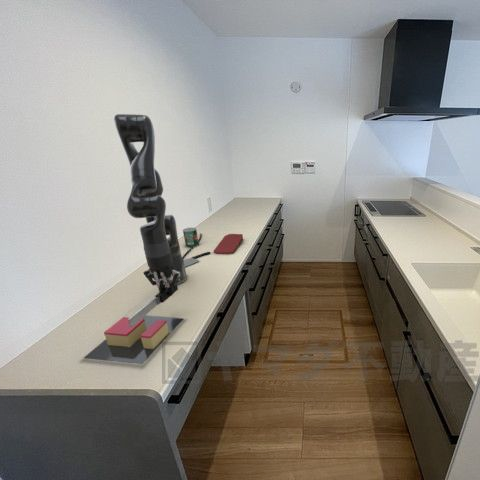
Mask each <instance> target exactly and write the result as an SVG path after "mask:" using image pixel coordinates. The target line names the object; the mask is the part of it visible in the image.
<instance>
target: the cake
mask: <svg viewBox="0 0 480 480" xmlns="http://www.w3.org/2000/svg"><path fill="white" fill-rule="evenodd" d="M129 318H130V317H126V316H123V317H122V318H120V319H118V321H116V322H115V323H114V324H112V326H110V327H109V328H108V329H107V330H105V331H104V332H103V334H104V337H105V340H107V343H108V345H114V346H125V347H131V346H132V345H133V344H134V343H135V342H136V341H137V340H138V339H139V338H140V337H141V335H142V334H143V333H144V332H145V331H146V330H147V327H146V324H145V320H144V319H141V320H140V321H138V322H137V323H136V324H135V325H134V326H133V327H132V328H130V325H129V322H128V319H129Z"/></svg>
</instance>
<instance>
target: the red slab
mask: <svg viewBox="0 0 480 480" xmlns="http://www.w3.org/2000/svg"><path fill="white" fill-rule="evenodd" d="M243 235H244V234H243V233H228V234H226V235H224V236H223V237H222V239H221V240H220V242H219V243H218V244H217V246H216V247H215V248H214V249H213V253H214V254H217V255H232V254H235V251H236V250H237V249H238V247H239V245H240V244H241V242H242V241H243V240H244V236H243Z"/></svg>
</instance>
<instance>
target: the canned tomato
mask: <svg viewBox="0 0 480 480" xmlns="http://www.w3.org/2000/svg"><path fill="white" fill-rule="evenodd" d="M182 234H183V238H184V245H185V248H189V249H190V248H191V247H192V246H194V247H193V248H196V247H198V246H199V245H200V244H199V243H200V242H198V240H199V236H198V231H197V227H186V228H183V229H182Z"/></svg>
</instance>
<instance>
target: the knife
mask: <svg viewBox="0 0 480 480" xmlns="http://www.w3.org/2000/svg"><path fill="white" fill-rule="evenodd" d="M174 290H175V293H176V292H177V291H178V290H179V287H178V284H176V285H175V286H174ZM170 297H171V296H169V295H168V291H167V286H165V288H164V289H163V290H162V291H160V292H158V293H156V294H155V295H154V298H153V299H151V300H150V301H149V302H148V303H147V304H145V305H144V306H143V307H142V308H141V309H139V310H138V311H136V312H135V313H134V314H133V315H132V316H130V317H128V318H129V319H128V322H129V325H130V328H132V327H133V326H134V325H135V324H136V323H137V322H138V321H140V320H141V319H142V318H143V317H144V316H145V315H146V316H148V314H149V313H150V312H151V311H153V310H154V309H155V308H156V307H158V306H159V305H160V304H162V303H164V302H166V301H167V300H168V299H169V298H170Z"/></svg>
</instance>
